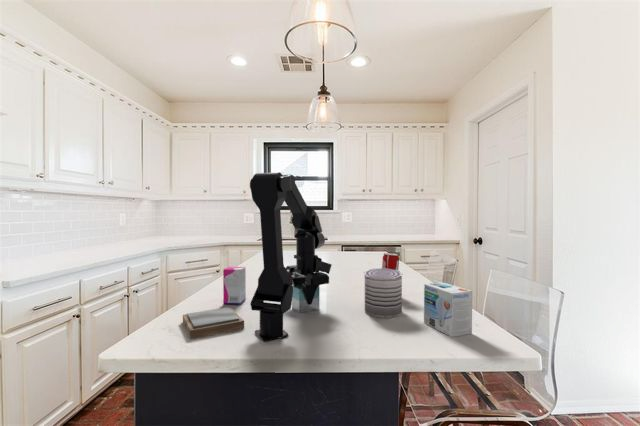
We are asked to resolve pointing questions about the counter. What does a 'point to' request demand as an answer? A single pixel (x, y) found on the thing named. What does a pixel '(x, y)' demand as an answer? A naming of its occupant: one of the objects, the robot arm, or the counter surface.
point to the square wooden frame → (212, 322)
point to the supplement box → (234, 285)
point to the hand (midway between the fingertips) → (305, 302)
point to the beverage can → (390, 261)
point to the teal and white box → (303, 300)
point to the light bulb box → (448, 308)
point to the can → (383, 292)
